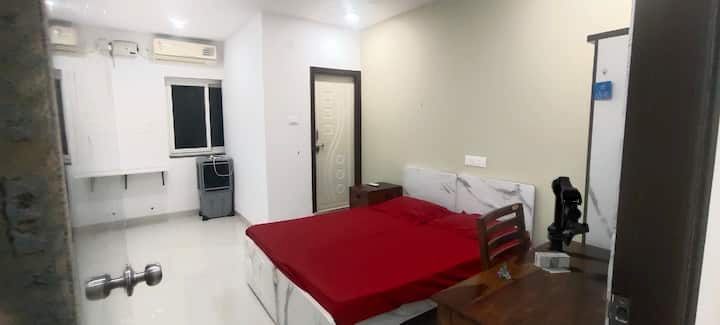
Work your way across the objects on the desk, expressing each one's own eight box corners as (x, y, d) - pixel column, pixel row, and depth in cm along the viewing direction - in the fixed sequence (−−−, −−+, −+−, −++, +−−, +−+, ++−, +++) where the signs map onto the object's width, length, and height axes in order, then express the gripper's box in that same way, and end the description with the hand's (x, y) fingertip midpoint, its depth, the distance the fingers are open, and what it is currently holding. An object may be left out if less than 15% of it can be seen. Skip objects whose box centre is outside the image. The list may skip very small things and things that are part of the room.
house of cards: (484, 276, 163) (484, 260, 163) (499, 274, 166) (500, 258, 165) (497, 285, 155) (498, 268, 154) (513, 282, 158) (514, 265, 157)
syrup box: (565, 252, 176) (534, 251, 177) (570, 257, 170) (539, 256, 172) (564, 263, 176) (534, 262, 178) (570, 268, 171) (538, 267, 172)
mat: (533, 264, 177) (533, 263, 177) (553, 262, 179) (553, 261, 179) (550, 274, 166) (550, 273, 165) (571, 272, 168) (571, 271, 167)
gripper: (564, 220, 160) (562, 253, 162) (600, 218, 164) (597, 250, 165) (547, 214, 171) (545, 245, 173) (581, 212, 174) (578, 242, 176)
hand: (567, 246), depth 172 cm, fingers closed
